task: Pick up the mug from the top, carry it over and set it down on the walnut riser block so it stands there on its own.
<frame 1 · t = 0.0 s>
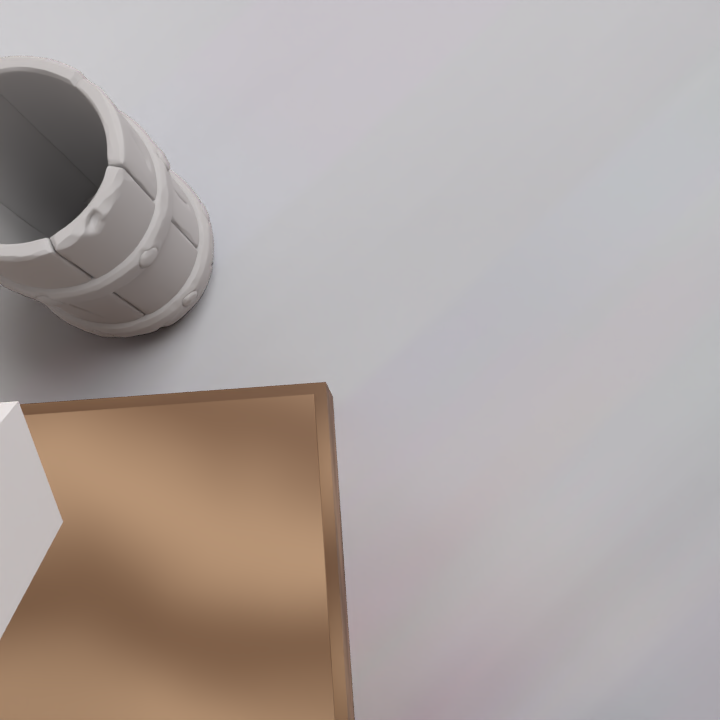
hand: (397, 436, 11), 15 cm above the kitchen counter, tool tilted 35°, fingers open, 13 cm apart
walnut riser: (174, 577, 26), on the kitchen counter
mug: (99, 236, 28), on the kitchen counter
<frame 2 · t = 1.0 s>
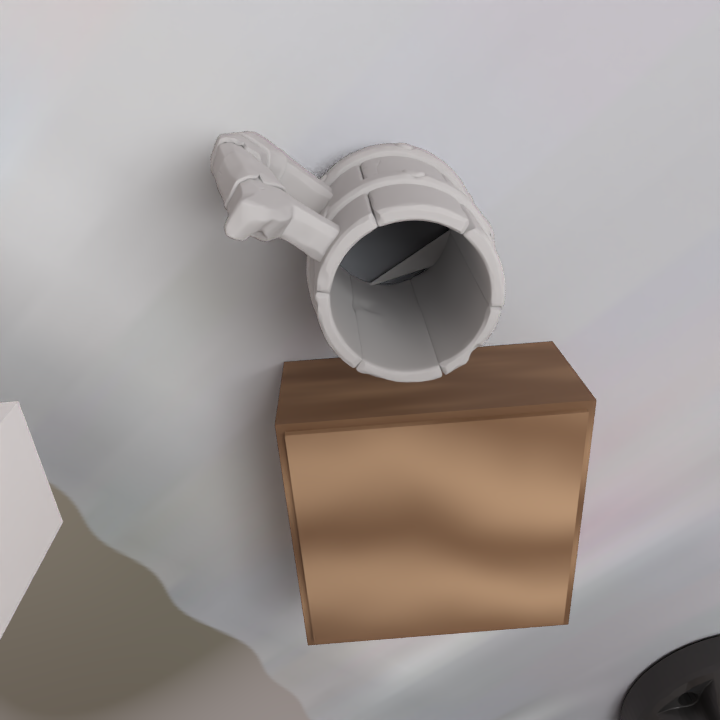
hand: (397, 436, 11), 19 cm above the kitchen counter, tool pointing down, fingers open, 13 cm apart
walnut riser: (421, 461, 35), on the kitchen counter
mug: (349, 200, 29), on the kitchen counter
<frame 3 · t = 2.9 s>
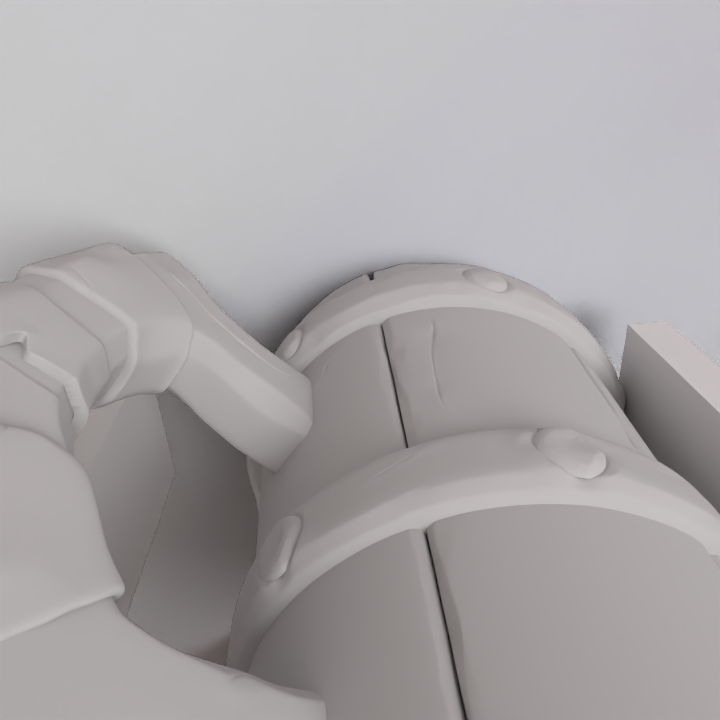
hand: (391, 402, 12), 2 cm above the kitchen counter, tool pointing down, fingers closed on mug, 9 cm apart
mug: (349, 357, 14), on the kitchen counter, touching gripper
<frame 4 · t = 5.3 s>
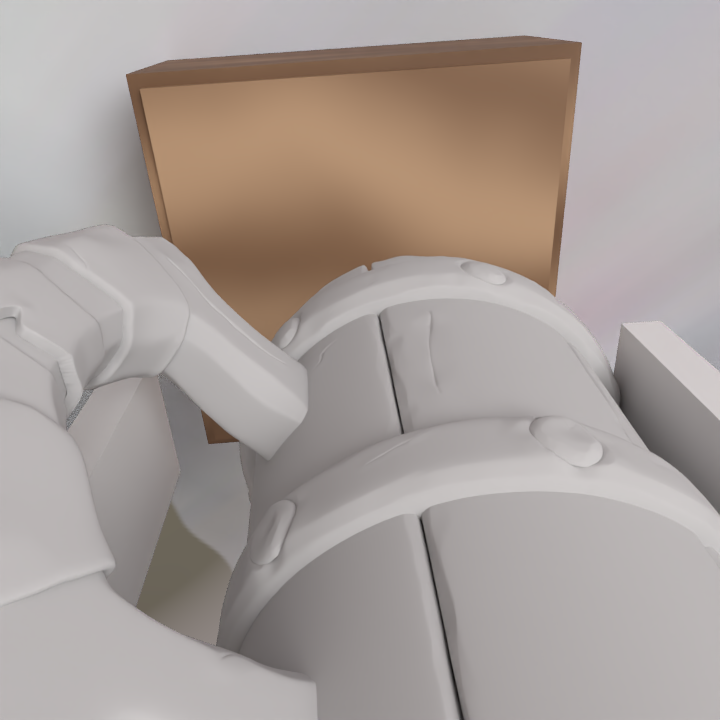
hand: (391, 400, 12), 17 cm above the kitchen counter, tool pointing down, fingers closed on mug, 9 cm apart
walnut riser: (358, 223, 28), on the kitchen counter
mug: (345, 348, 14), point 15 cm above the kitchen counter, touching gripper
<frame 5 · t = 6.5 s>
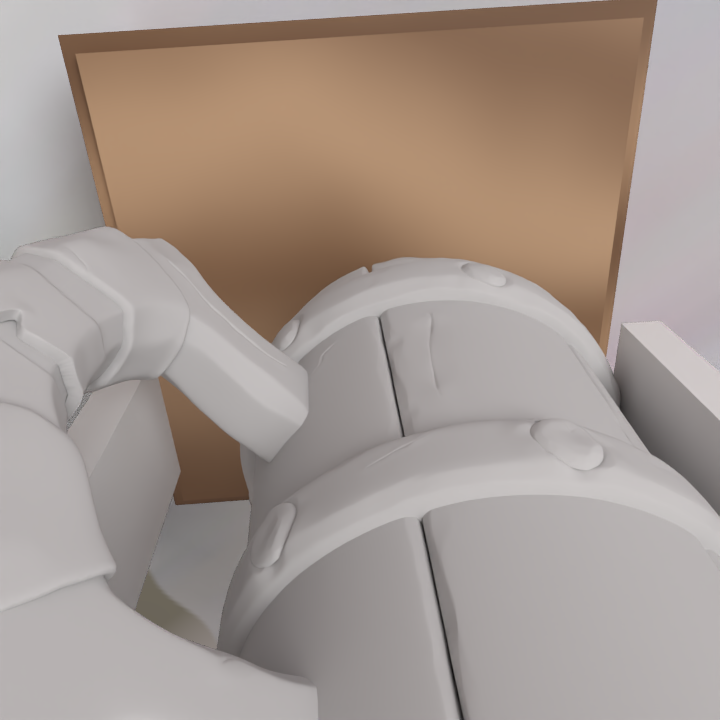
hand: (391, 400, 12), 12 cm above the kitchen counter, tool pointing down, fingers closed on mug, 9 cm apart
walnut riser: (363, 236, 23), on the kitchen counter
mug: (345, 350, 14), point 10 cm above the kitchen counter, touching gripper
when the fingers open (9 cm above the kitchen counter, at t = 7.5 s): mug stays where it is, resting on walnut riser.
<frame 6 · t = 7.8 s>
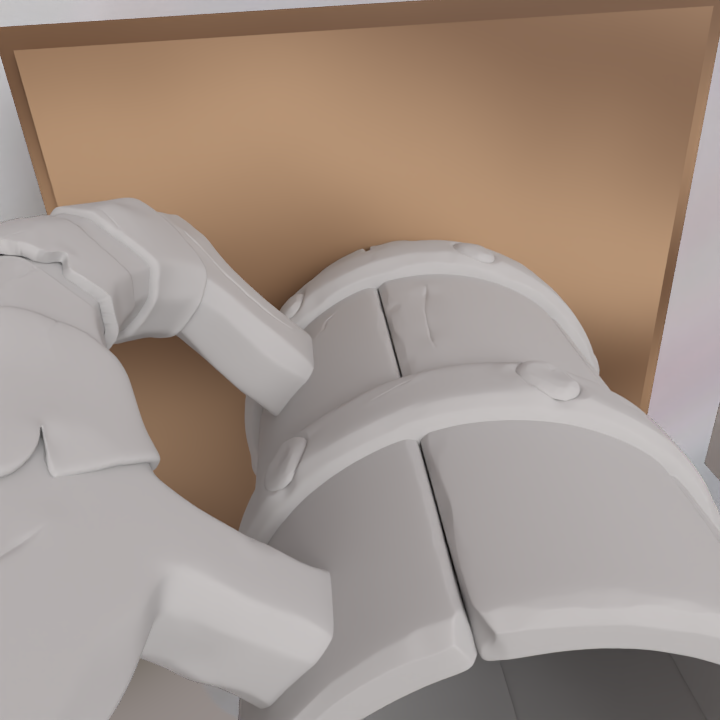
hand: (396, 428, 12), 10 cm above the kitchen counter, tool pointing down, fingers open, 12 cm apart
walnut riser: (365, 257, 20), on the kitchen counter
mug: (343, 329, 15), point 6 cm above the kitchen counter, touching walnut riser
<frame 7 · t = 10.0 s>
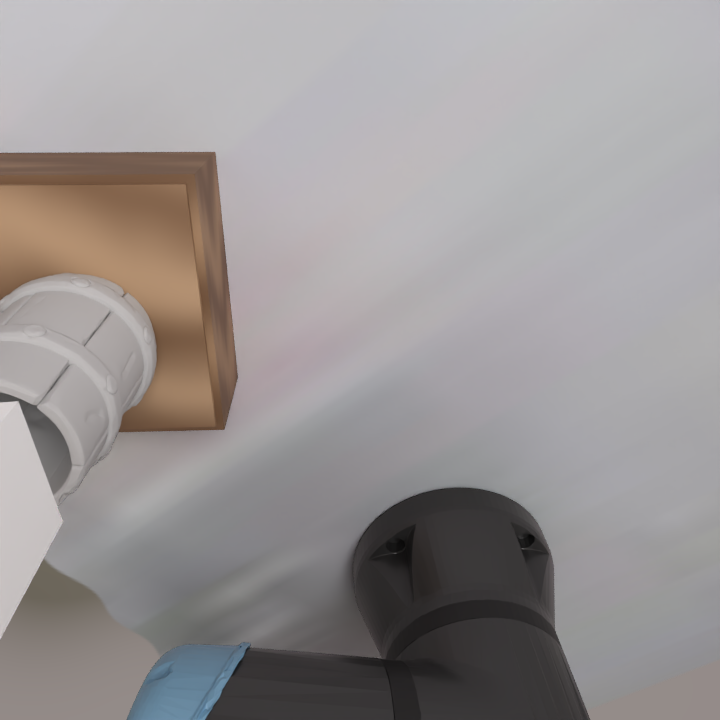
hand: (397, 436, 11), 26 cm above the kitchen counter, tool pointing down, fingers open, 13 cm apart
walnut riser: (107, 276, 37), on the kitchen counter
mug: (50, 311, 31), point 6 cm above the kitchen counter, touching walnut riser
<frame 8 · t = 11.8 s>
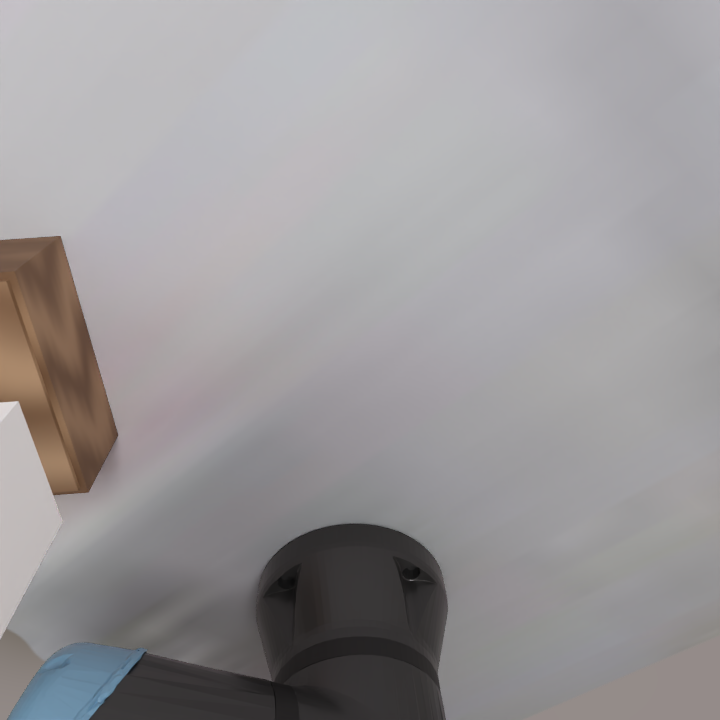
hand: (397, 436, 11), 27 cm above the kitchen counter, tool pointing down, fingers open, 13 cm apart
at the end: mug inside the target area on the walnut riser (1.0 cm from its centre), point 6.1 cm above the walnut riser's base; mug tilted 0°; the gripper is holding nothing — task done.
